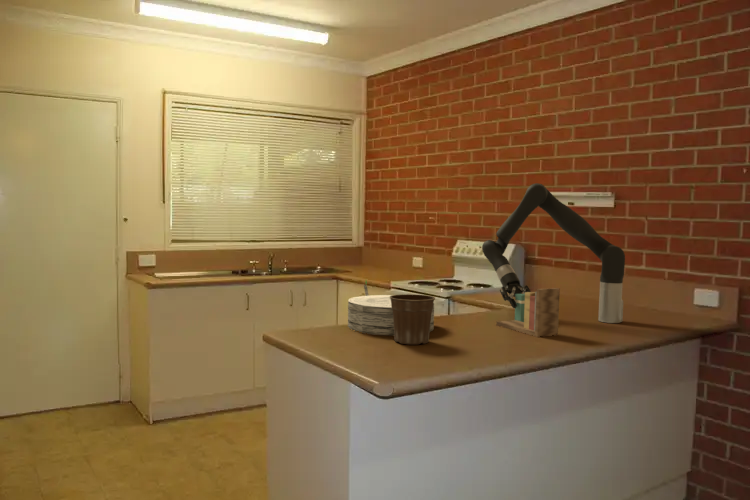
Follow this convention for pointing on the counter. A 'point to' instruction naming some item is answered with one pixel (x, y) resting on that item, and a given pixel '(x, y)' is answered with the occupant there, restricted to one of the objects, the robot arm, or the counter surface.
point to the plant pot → (412, 318)
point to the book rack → (538, 314)
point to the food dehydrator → (373, 314)
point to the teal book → (519, 307)
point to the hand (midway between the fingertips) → (523, 306)
